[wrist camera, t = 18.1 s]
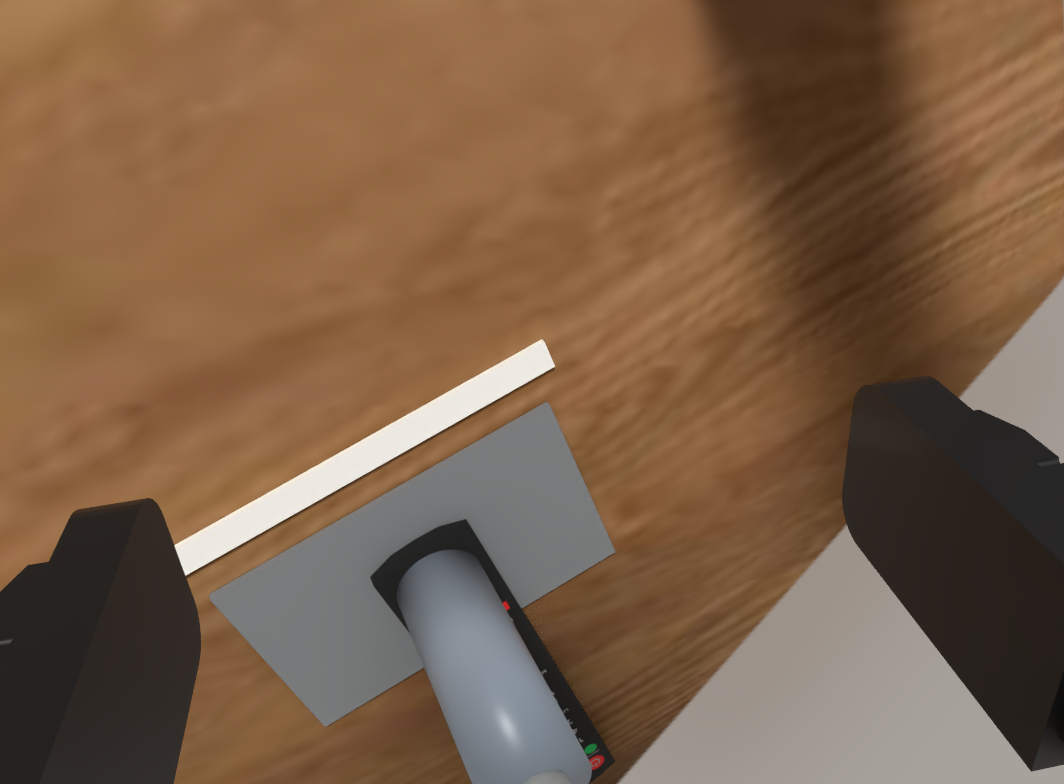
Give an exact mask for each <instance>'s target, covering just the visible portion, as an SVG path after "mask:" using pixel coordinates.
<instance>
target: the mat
mask: <svg viewBox="0 0 1064 784" xmlns="http://www.w3.org/2000/svg"><path fill="white" fill-rule="evenodd" d="M464 519H466V520H467V521H468V523H469V525H470V526H471V528H472V529H473V531H474V533H475V534H476V536H477V538H478V539H479V541H480V542H481V544H482V546H483V547H484V549H485V551H486V552H487V554H488V555H489V557H490V559H491V560H492V562H493V564H494V565H495V567H496V568H497V570H498V572H499V573H500V575H501V576H502V578H503V580H504V581H505V583H506V585H507V586H508V588H509V589H510V591H511V593H512V594H513V596H514V598H515V599H516V601H517V602H518V604H519V606H520V607H521V609H522V608H524V607H525V606H527V605H529V604H530V603H532V602H533V601H535V600H537V599H538V598H540V597H542V596H543V595H545V594H547V593H548V592H550V591H552V590H553V589H555V588H557V587H558V586H560V585H562V584H563V583H565V582H567V581H568V580H570V579H572V578H573V577H575V576H577V575H578V574H580V573H582V572H583V571H585V570H587V569H588V568H590V567H592V566H593V565H595V564H597V563H598V562H600V561H601V560H603V559H605V558H606V557H608V556H610V555H611V554H613V553H615V550H614V547H613V545H612V543H611V541H610V538H609V536H608V534H607V532H606V530H605V527H604V525H603V523H602V521H601V518H600V516H599V514H598V512H597V509H596V507H595V505H594V503H593V500H592V498H591V496H590V494H589V492H588V489H587V487H586V485H585V483H584V480H583V478H582V476H581V474H580V471H579V469H578V467H577V465H576V462H575V460H574V458H573V456H572V454H571V451H570V449H569V447H568V445H567V442H566V440H565V438H564V436H563V433H562V431H561V429H560V427H559V425H558V422H557V420H556V418H555V416H554V413H553V411H552V409H551V407H550V405H549V404H548V402H545V403H543V404H541V405H540V406H538V407H536V408H534V409H533V410H531V411H529V412H527V413H526V414H524V415H522V416H520V417H519V418H517V419H515V420H513V421H512V422H510V423H508V424H506V425H505V426H503V427H501V428H499V429H498V430H496V431H494V432H492V433H491V434H489V435H487V436H485V437H484V438H482V439H480V440H478V441H477V442H475V443H473V444H471V445H470V446H468V447H466V448H464V449H463V450H461V451H459V452H457V453H456V454H454V455H452V456H450V457H449V458H447V459H445V460H443V461H442V462H440V463H438V464H436V465H435V466H433V467H431V468H429V469H428V470H426V471H424V472H422V473H421V474H419V475H417V476H415V477H414V478H412V479H410V480H408V481H407V482H405V483H403V484H401V485H400V486H398V487H396V488H394V489H393V490H391V491H389V492H387V493H386V494H384V495H382V496H380V497H379V498H377V499H375V500H373V501H372V502H370V503H368V504H366V505H365V506H363V507H361V508H359V509H358V510H356V511H354V512H352V513H351V514H349V515H347V516H345V517H344V518H342V519H340V520H338V521H337V522H335V523H333V524H331V525H330V526H328V527H326V528H324V529H323V530H321V531H319V532H317V533H316V534H314V535H312V536H310V537H309V538H307V539H305V540H303V541H302V542H300V543H298V544H296V545H295V546H293V547H291V548H289V549H288V550H286V551H284V552H282V553H281V554H279V555H277V556H275V557H274V558H272V559H270V560H268V561H267V562H265V563H263V564H261V565H260V566H258V567H256V568H254V569H253V570H251V571H249V572H247V573H246V574H244V575H242V576H240V577H239V578H237V579H235V580H233V581H232V582H230V583H228V584H226V585H225V586H223V587H221V588H219V589H218V590H216V591H214V592H212V593H211V594H209V595H210V600H211V601H212V602H213V604H214V605H215V606H216V607H217V608H218V609H219V610H220V611H221V612H222V613H223V615H224V616H225V617H226V618H227V619H228V620H229V621H230V622H231V623H232V625H233V626H234V627H235V628H236V629H237V630H238V631H239V632H240V633H241V635H242V636H243V637H244V638H245V639H246V640H247V641H248V642H249V643H250V644H251V646H252V647H253V648H254V649H255V650H256V651H257V652H258V653H259V654H260V656H261V657H262V658H263V659H264V660H265V661H266V662H267V663H268V664H269V665H270V667H271V668H272V669H273V670H274V671H275V672H276V673H277V674H278V675H279V677H280V678H281V679H282V680H283V681H284V682H285V683H286V684H287V685H288V686H289V688H290V689H291V690H292V691H293V692H294V693H295V694H296V695H297V696H298V698H299V699H300V700H301V701H302V702H303V703H304V704H305V705H306V706H307V708H308V709H309V710H310V711H311V712H312V713H313V714H314V715H315V716H316V717H317V719H318V720H319V721H320V722H321V723H322V724H323V725H324V726H325V727H326V726H328V725H330V724H331V723H333V722H335V721H336V720H338V719H340V718H341V717H343V716H344V715H346V714H348V713H349V712H351V711H353V710H354V709H356V708H358V707H359V706H361V705H363V704H364V703H366V702H368V701H369V700H371V699H373V698H374V697H376V696H378V695H379V694H381V693H383V692H384V691H386V690H388V689H389V688H391V687H393V686H394V685H396V684H398V683H399V682H401V681H403V680H404V679H406V678H407V677H409V676H411V675H412V674H414V673H416V672H417V671H419V670H421V669H422V668H424V666H423V663H422V661H421V658H420V656H419V654H418V651H417V649H416V646H415V644H414V641H413V639H412V637H411V634H410V633H409V632H408V631H407V629H406V628H405V627H404V625H403V624H402V623H401V621H400V620H399V619H398V618H397V616H396V615H395V614H394V612H393V611H392V610H391V608H390V607H389V606H388V605H387V603H386V602H385V601H384V599H383V598H382V597H381V595H380V594H379V593H378V592H377V590H376V589H375V588H374V586H373V584H372V581H371V578H370V576H371V575H372V574H373V573H374V572H375V571H376V570H377V569H378V568H379V567H380V566H381V565H382V564H383V563H384V562H385V561H386V560H387V559H388V558H389V557H390V556H391V555H392V554H393V553H395V552H397V551H398V550H400V549H401V548H403V547H404V546H406V545H407V544H409V543H410V542H412V541H413V540H415V539H417V538H418V537H420V536H422V535H424V534H426V533H428V532H429V531H431V530H433V529H435V528H437V527H438V526H442V525H446V524H449V523H453V522H457V521H460V520H464Z"/></svg>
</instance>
